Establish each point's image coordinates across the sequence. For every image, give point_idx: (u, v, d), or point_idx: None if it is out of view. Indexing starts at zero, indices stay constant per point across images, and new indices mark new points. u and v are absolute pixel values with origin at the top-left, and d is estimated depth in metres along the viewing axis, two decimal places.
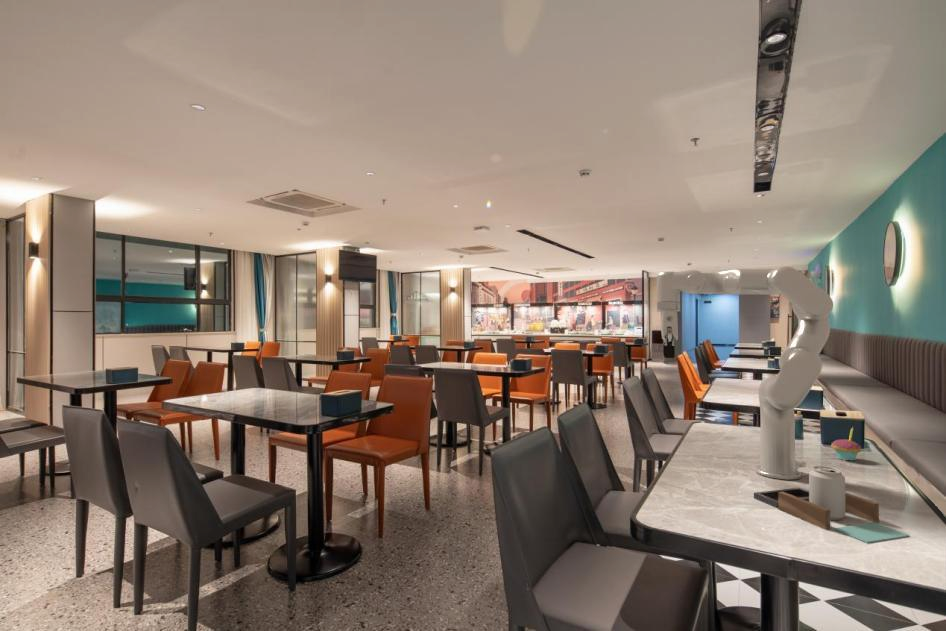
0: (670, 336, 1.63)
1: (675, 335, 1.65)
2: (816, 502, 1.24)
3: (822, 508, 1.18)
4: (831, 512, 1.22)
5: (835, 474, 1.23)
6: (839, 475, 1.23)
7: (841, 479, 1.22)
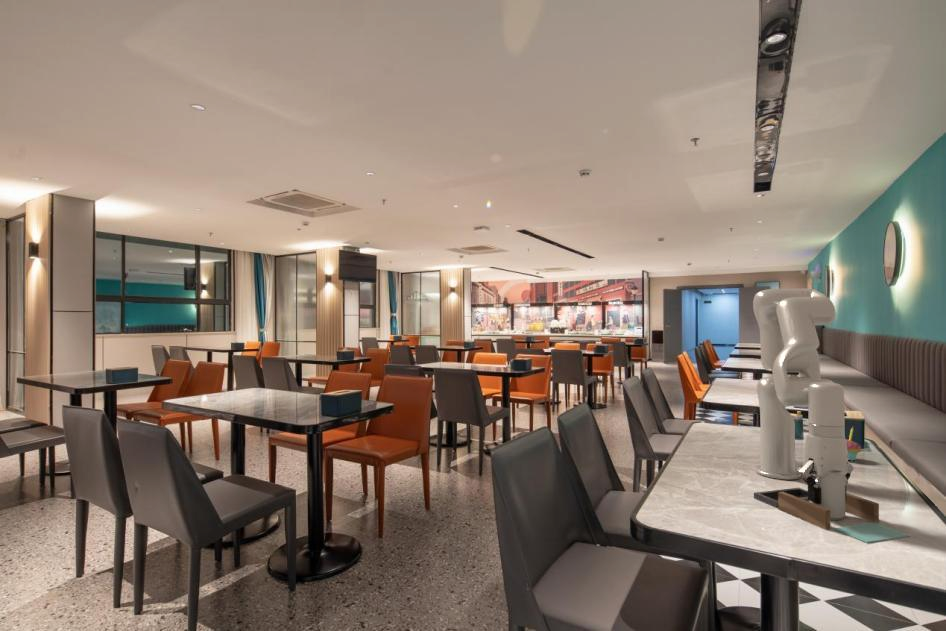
0: None
1: None
2: None
3: (822, 508, 1.18)
4: (831, 512, 1.22)
5: (835, 474, 1.23)
6: (839, 475, 1.23)
7: (841, 479, 1.22)
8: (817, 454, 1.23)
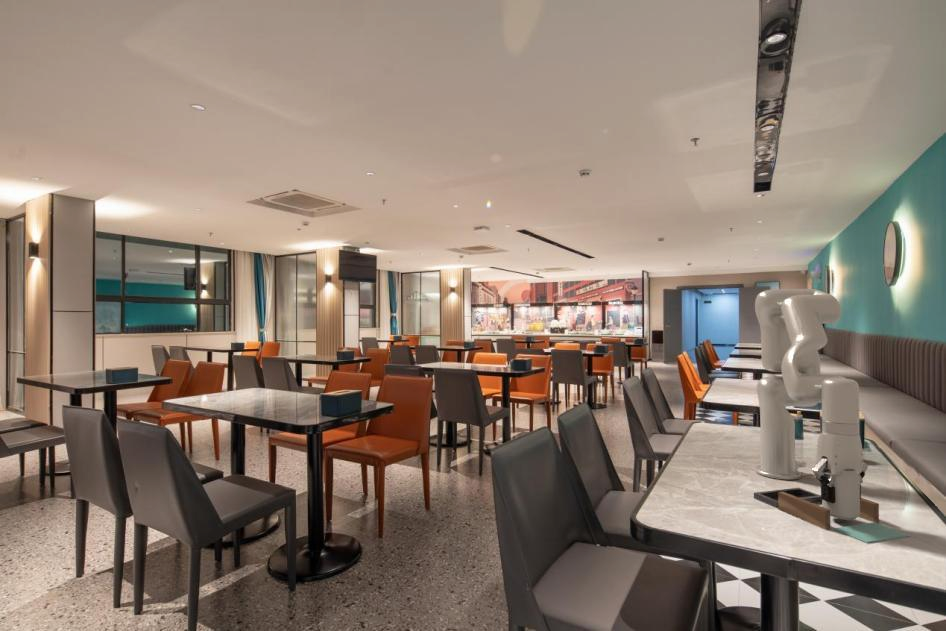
0: None
1: None
2: None
3: (822, 508, 1.18)
4: (845, 512, 1.19)
5: (849, 473, 1.19)
6: (854, 474, 1.19)
7: (855, 478, 1.19)
8: (831, 452, 1.20)
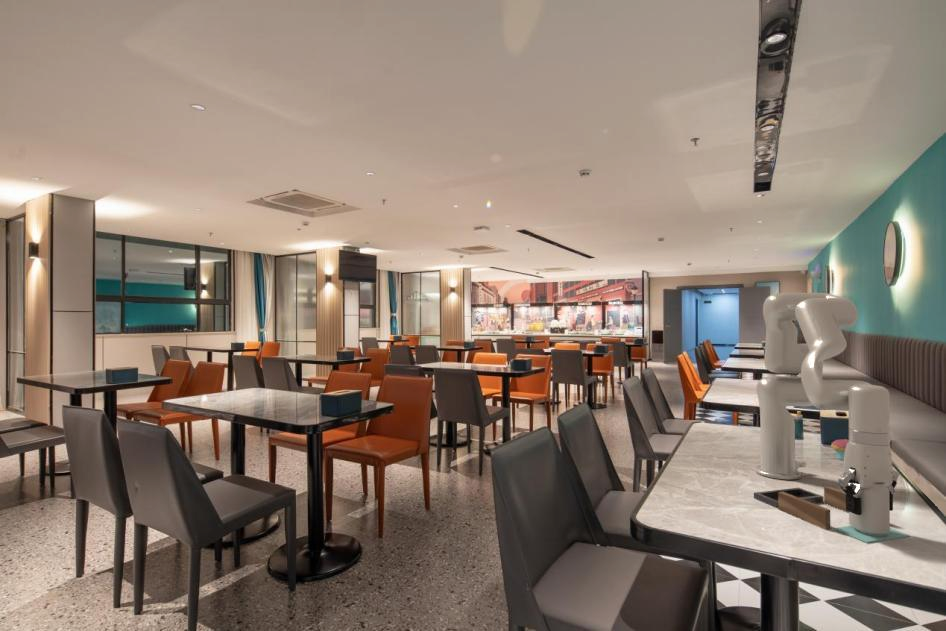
0: None
1: None
2: (858, 517, 1.15)
3: (822, 508, 1.18)
4: (875, 527, 1.12)
5: (879, 486, 1.13)
6: (883, 487, 1.13)
7: (885, 491, 1.12)
8: (860, 463, 1.13)
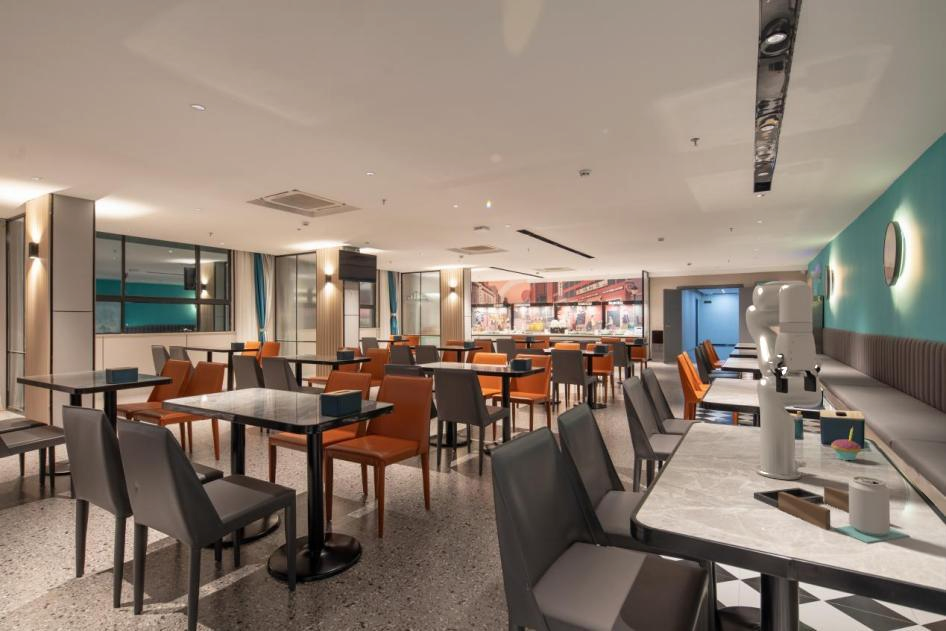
0: None
1: None
2: (858, 517, 1.15)
3: (822, 508, 1.18)
4: (875, 527, 1.12)
5: (879, 486, 1.13)
6: (883, 487, 1.13)
7: (885, 491, 1.12)
8: (787, 349, 1.32)
